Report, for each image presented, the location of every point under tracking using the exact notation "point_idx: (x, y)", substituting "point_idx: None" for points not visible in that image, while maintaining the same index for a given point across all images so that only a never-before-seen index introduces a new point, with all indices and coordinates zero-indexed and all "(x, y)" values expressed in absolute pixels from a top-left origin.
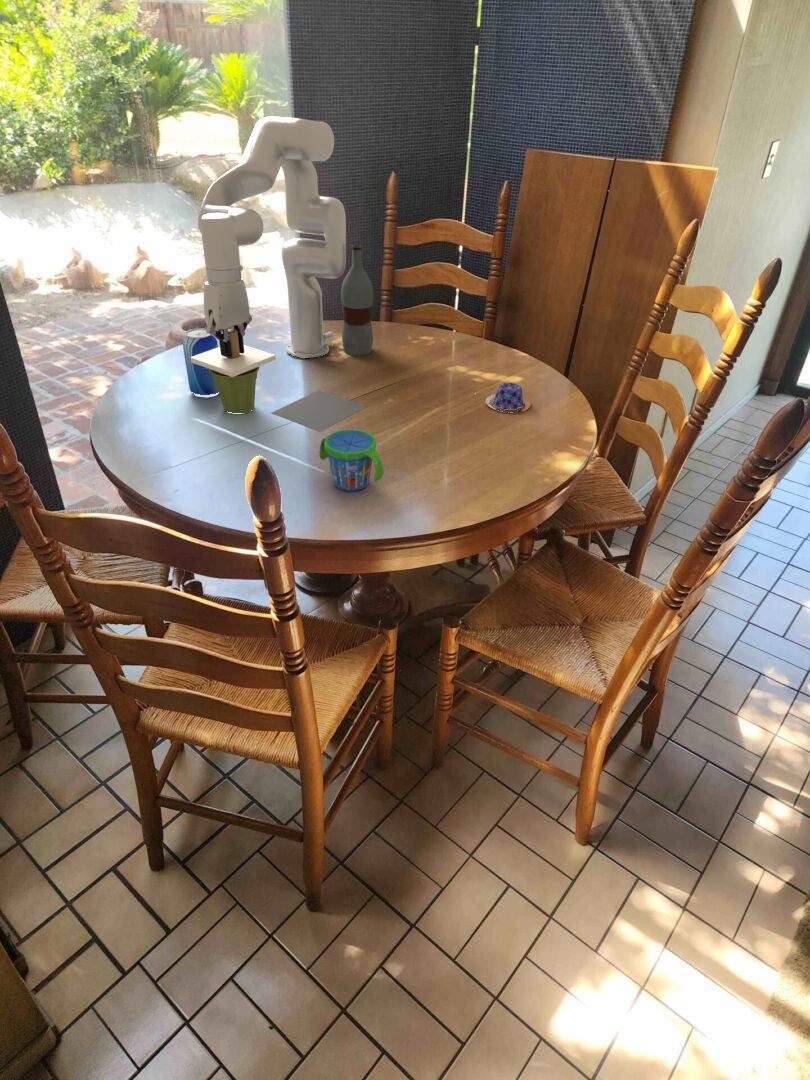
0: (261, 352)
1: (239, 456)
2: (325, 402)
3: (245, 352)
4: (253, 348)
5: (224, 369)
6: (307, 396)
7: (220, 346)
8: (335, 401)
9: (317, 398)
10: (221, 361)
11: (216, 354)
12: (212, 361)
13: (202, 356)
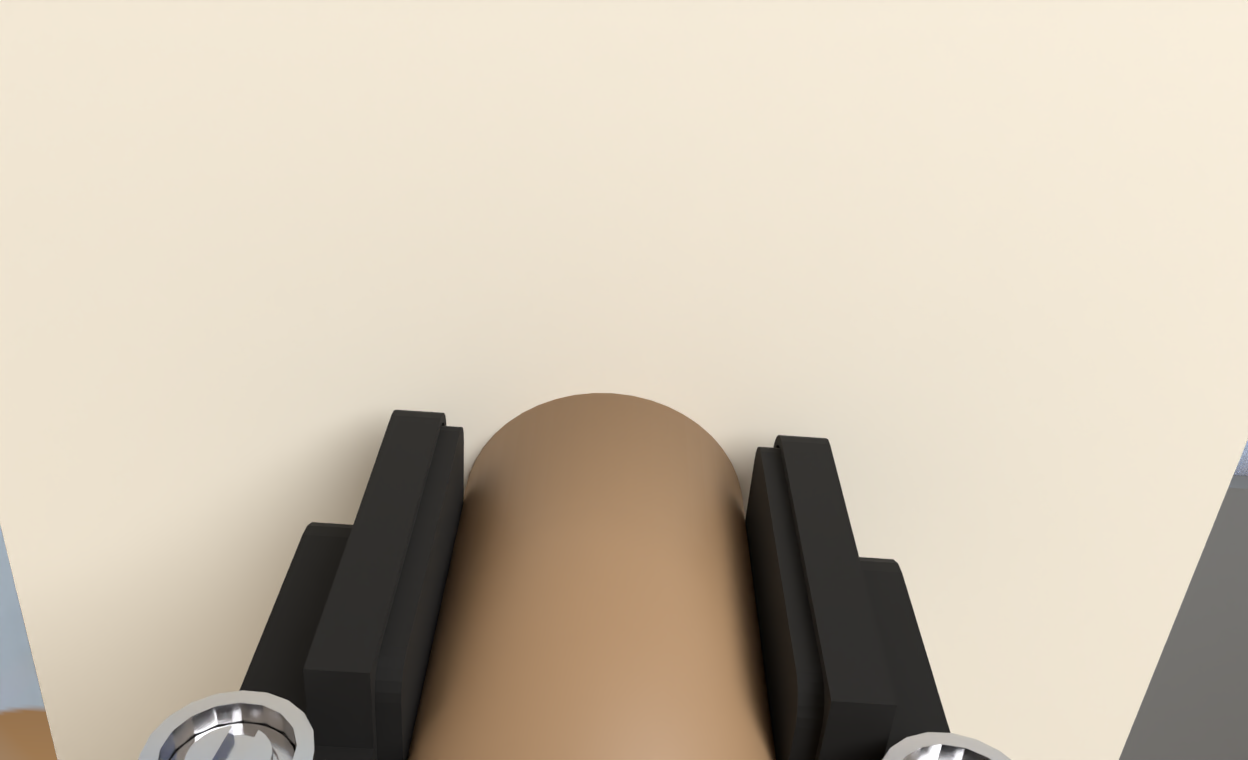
0: (1047, 749)
1: (15, 662)
2: (1165, 675)
3: (904, 559)
4: (1176, 546)
5: (59, 753)
6: (1230, 501)
7: (267, 637)
8: (1221, 720)
9: (1221, 589)
10: (247, 520)
11: (445, 188)
12: (110, 397)
13: (111, 15)
